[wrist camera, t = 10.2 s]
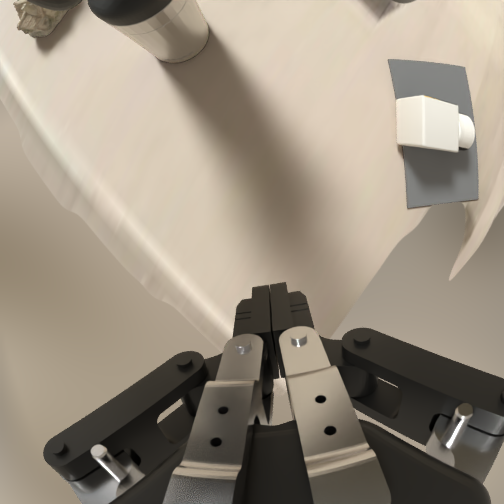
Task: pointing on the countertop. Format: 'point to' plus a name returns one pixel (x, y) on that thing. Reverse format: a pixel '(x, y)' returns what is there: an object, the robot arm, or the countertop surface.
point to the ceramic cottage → (37, 18)
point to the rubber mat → (430, 160)
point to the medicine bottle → (433, 124)
